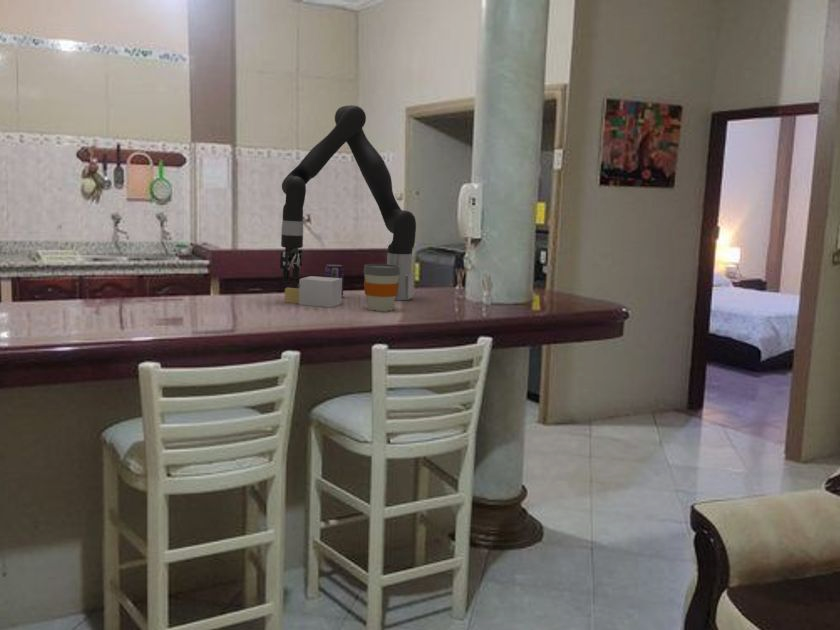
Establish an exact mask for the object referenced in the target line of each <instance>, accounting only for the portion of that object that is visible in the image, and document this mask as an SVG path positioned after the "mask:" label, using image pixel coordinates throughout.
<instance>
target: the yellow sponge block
mask: <svg viewBox="0 0 840 630" xmlns="http://www.w3.org/2000/svg"><path fill="white" fill-rule="evenodd" d="M284 302H285V303H297V304H299V288H298V287H286V288H284Z"/></svg>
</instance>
